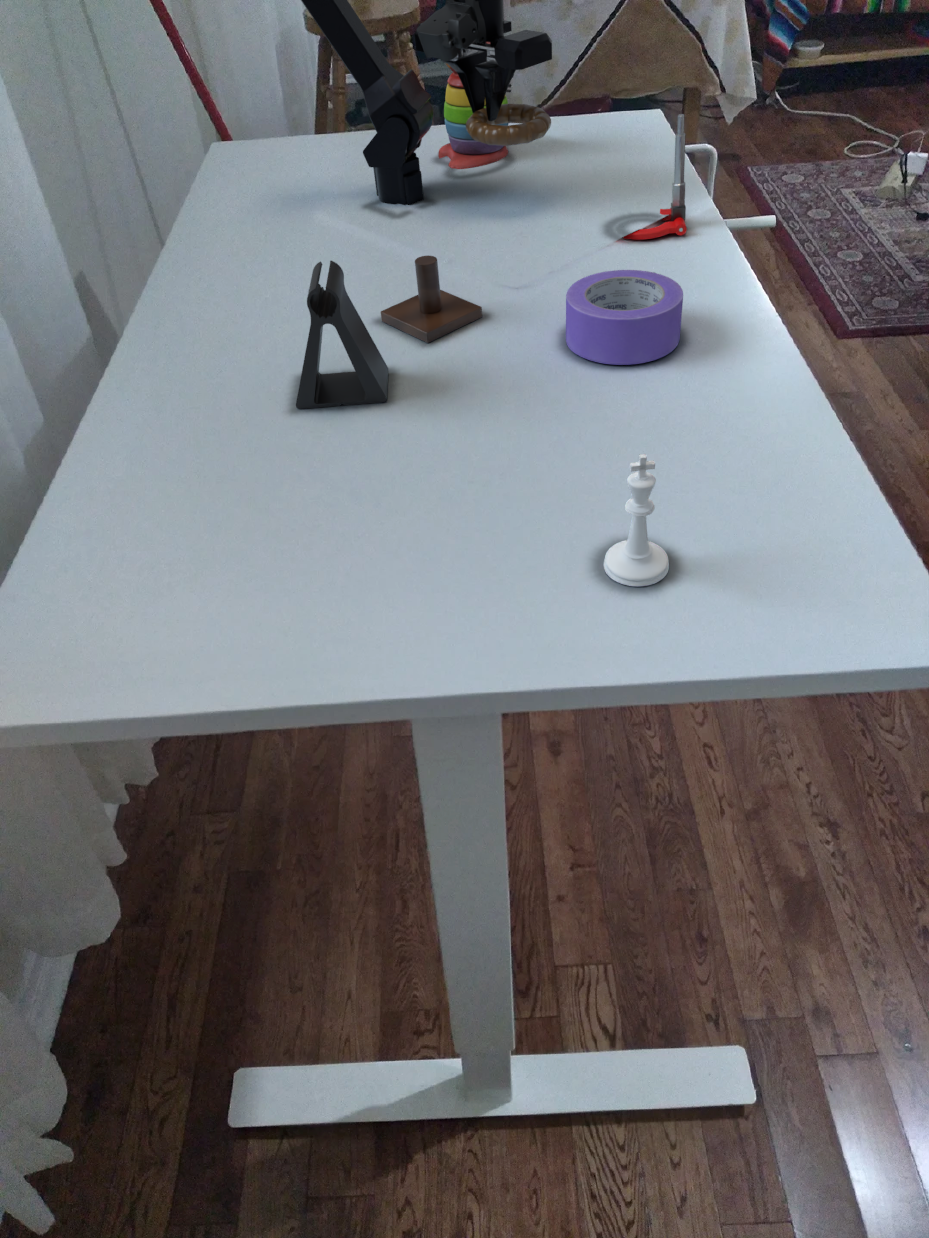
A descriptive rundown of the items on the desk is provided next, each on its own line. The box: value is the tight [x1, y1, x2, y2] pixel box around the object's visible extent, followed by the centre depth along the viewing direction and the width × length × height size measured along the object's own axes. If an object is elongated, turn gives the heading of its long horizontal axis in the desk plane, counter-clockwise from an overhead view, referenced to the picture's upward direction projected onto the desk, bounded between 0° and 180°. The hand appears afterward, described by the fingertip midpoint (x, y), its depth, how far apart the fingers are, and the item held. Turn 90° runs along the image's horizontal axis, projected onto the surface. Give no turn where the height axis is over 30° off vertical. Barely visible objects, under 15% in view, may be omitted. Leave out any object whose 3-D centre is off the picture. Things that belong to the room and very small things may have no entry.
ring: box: [466, 103, 552, 147], centre depth 121 cm, size 10×10×2 cm
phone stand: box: [295, 260, 389, 410], centre depth 93 cm, size 9×6×12 cm, turn 91°
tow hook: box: [621, 113, 688, 241], centre depth 117 cm, size 8×13×9 cm
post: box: [380, 255, 483, 344], centre depth 105 cm, size 8×8×7 cm
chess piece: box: [603, 453, 670, 587], centre depth 71 cm, size 5×5×10 cm
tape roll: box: [565, 269, 684, 366], centre depth 99 cm, size 12×12×5 cm
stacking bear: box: [437, 42, 510, 170], centre depth 138 cm, size 11×10×18 cm
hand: (485, 119), depth 123 cm, fingers closed on ring, 2 cm apart
